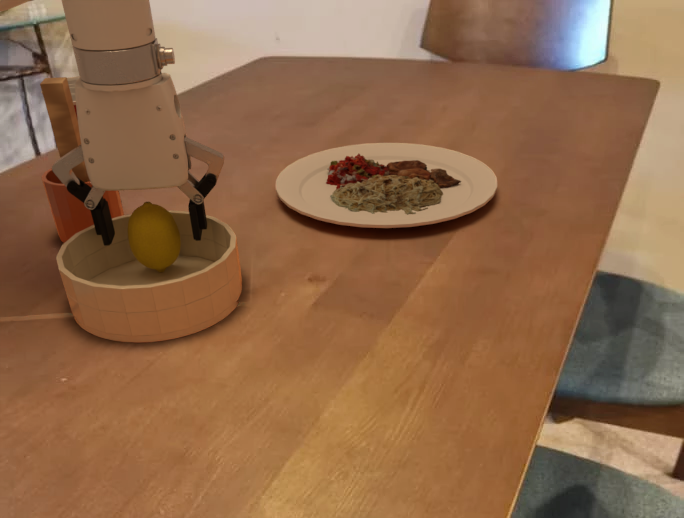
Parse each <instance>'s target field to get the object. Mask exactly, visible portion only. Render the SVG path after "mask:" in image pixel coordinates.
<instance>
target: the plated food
mask: <svg viewBox="0 0 684 518" xmlns="http://www.w3.org/2000/svg"><path fill="white" fill-rule="evenodd" d="M497 190H498V177H497V175H496V173H495V172H494V171H493V169H492V168H491V167H489V166H488V165H487V164H486V163H484V162H483V161H481V160H479V159H478V158H475V157H474V156H471V155H469V154H465V153H463V152H460V151H458V150H453V149H449V148H447V147H446V148H445V147H441V146H434V145H429V144H422V143H409V142H369V143H357V144H349V145H343V146H338V147H337V146H336V147H332V148H328V149H325V150H321V151H317V152H313V153H310V154H309V155H306V156H304V157H301V158H298V159H297V160H295V161H293V162H292V163H290V164H288V165H287V166H286V167H284V168H283V169H282V170H281V171H280V172H279V174H278V176H277V178H276V179H275V193H276V194H277V196H278V198H279V200H280V201H282V203H284V205H285V206H287V207H288V208H289V209H291V210H293V211H295V212H297V213H299V214H300V215H303V216H306V217H310V218H312V219H314V220H317V221H320V222H321V221H322V222H325V223H331V224H335V225H340V226H348V227H349V226H350V227H356V228H369V229H370V228H373V229H375V228H376V229H392V228H393V229H396V228H412V227H419V226H426V225H433V224H438V223H442V222H443V223H444V222H447V221H451V220H455V219H458V218H460V217H463V216H465V215H469V214H471V213H474V212H475V211H477V210H478V209H481V208H482V207H484V206H486V204H488V202H489V201H491V200H492V199H493V198H494V196H495V194H496V192H497Z"/></svg>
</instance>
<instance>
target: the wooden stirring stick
mask: <svg viewBox="0 0 684 518" xmlns="http://www.w3.org/2000/svg"><path fill="white" fill-rule="evenodd" d="M67 78H68V77H67V76H63V77H62V76H61V77H45V78H44V79H43V80H42V81H41V82H40V83H39V86H40V89H41V91H42V92H41V94H42V93H43V94H42V97H43V101H44V105H45V108H46V111H47V115H48V118H49V123H50V126H51V129H52V133H53V136H54V140H55V143H56V147H57V151H58V154H59V159H60V158H61V157H63V156H64V155H66V154H67V153H69V152H70V151H72V150H73V149H75V148H76V147H78V146H79V145H81V139H80V133H79V126H78V120H77V116H76V112H75V108H74V104H73V100H72V96H71V92H70V88H69V85H68V81H67ZM72 171H73V172H74V174H75V176H76V177H77V178H79V179H80V180H82V181H83V182H88V181H90V180H89V177H88V174H87V170H86V166H85V161H83V162H81V163H80V164H78V165H77V166H75V167H74V168H72Z"/></svg>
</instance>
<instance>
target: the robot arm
mask: <svg viewBox="0 0 684 518" xmlns="http://www.w3.org/2000/svg"><path fill="white" fill-rule="evenodd" d="M32 1H34V0H0V13H1V12H4V11H8V10H10V9H13V8H16V7H18V6H21V5H23V4H26V3H28V2H32ZM61 4H62V8H63V12H64V17H65V21H66V26H67V29H68V34H69V38H70V42H71V46H72V50H73V54H74V59H75V63H76V67H77V72H78V76H80V79H78V80H77V81H76V83H75V97H76V109H77V118H78V126H79V133H80V139H81V145H79V146H78V147H76V148H75V149H73V150H72V151H70V152H69V153H67V154H66V155H64V156H63V157H61V158H60V157H59V158H58V159H56V160H55V162H54V163H53V164H52V166H51V168H52V171H53V172H54V174H55V175H56V176H57V177H58V178H59V180H60V181H61V182H62V183H63V184H64V185H65V186H66V187H67V190H68V192H69V193H71V194H72V195H73V196H75V197H76V198H77V199H79V200H80V201H82V202H83V203H84V205H85V207H86V208H87V209H89V210H90V211H91V215H92V219H93V223H94V226H95V230H96V234H97V235H101V236H102V240H103V244H104V246H108V245H110V244H111V243H112V241H113V238H114V235H115V230H114V226H113V222H112V218H111V214H110V209H109V205H108V202H107V201H106V199H105V198H103V194H104V192H105V191H138V190H140V191H141V190H158V189H159V190H160V189H174V188H178V189H179V191H181V192H182V193H183V194H184V195H185V196H186V197H187V198H189V201H188V202H189V203H188V212H189V214H190V220H191V226H192V232H193V238H194V240H196V241H201V236H202V230H204V229H207V219H206V215H207V214H206V213H207V212H206V207H205V202H204V201H205V199H206V198H207V196H208V195H209V194H210V192H211V191H212V190H213V189H214V188H215V187H216V185H217V182H218V179H219V177H220V174H221V172H222V169H223V167H224V164H225V154H224V153H222V152H220V151H218V150H216V149H213V148H211V147H210V146H207V145H205V144H202V143H200V142H199V141H196V140H193V139H192V138H190V137H188V134H187V130H186V125H185V120H184V116H183V112H182V108H181V104H180V99H179V96H178V93H177V90H176V87H175V85H174V82H173V79H172V76H171V74H169V73H168V72H162V70H163V69H164V67H168V65H175V64H176V56H175V51H174V48H173V47H165V46H161V43H159V41H158V38H157V37H156V32H155V27H154V26H155V25H154V21H153V14H152V8H151V1H150V0H61ZM191 157H192V158H194V159H196V160H197V161H200V162H203V163H205V164H206V165H207V170H206V172H205V174H204V175H203V176H202V177H201V179H200V180H199V179H198V178H197V177H196V176H195V175H194V174H193V173H192V172H191V171H189V170H191V169H192V158H191ZM83 161H85V166H86V170H87V174H88V177H89V180H90V182H91V184H92V185H93V186H92V188H91V187H90V186H88V185H87V184H86V183H84V182H83V181H82V180H80V179H79V178H77V177H76V176H75V174H74V172H73V171H72V168H74V167H75V166H77V165H78V164H80V163H81V162H83Z"/></svg>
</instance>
